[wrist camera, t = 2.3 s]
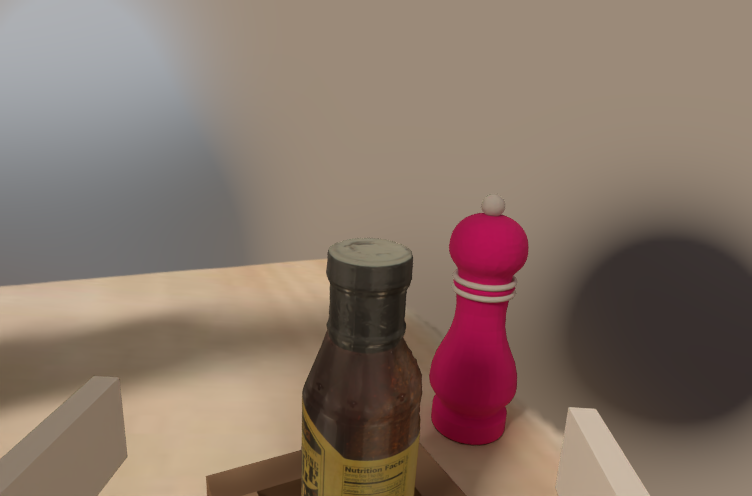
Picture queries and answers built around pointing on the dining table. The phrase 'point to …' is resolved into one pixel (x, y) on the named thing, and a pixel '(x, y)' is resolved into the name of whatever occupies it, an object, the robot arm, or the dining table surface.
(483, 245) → the pepper mill
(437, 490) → the bottle holder
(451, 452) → the dining table surface
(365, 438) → the sauce bottle
